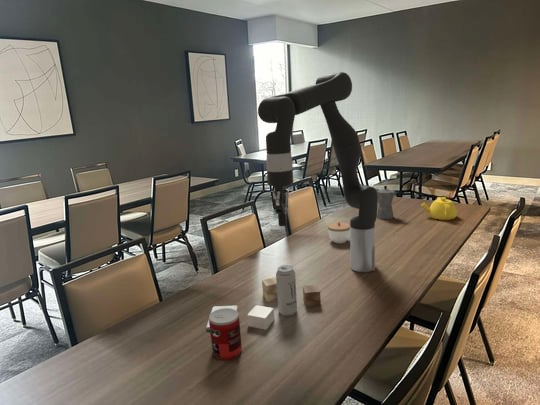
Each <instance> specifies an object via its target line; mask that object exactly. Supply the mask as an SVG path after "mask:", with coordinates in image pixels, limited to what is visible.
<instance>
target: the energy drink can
mask: <svg viewBox="0 0 540 405" xmlns="http://www.w3.org/2000/svg"><path fill="white" fill-rule="evenodd" d="M275 277H276V283H277V299H278V300H277V311H278V312H279V313H280V314H281V316H284V317H285V316H286V317H290V316H291V317H292V316H293V315H295V314H296V312H297V310H298V302H297V285H296V284H297V282H296V281H297V280H296V271H295V269H294V267H293V266H291V265H287V264H285V265H284V264H283V265H280V266H277V271H276V272H275Z"/></svg>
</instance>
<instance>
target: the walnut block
mask: <svg viewBox="0 0 540 405" xmlns="http://www.w3.org/2000/svg"><path fill="white" fill-rule="evenodd" d="M302 295H303V296H302V297H303V301H304V306H305V308H307V307H315V306H317V307H319V306H321V304H322V303H321V290H320V287H319V285H318V284H309V285H302Z"/></svg>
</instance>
